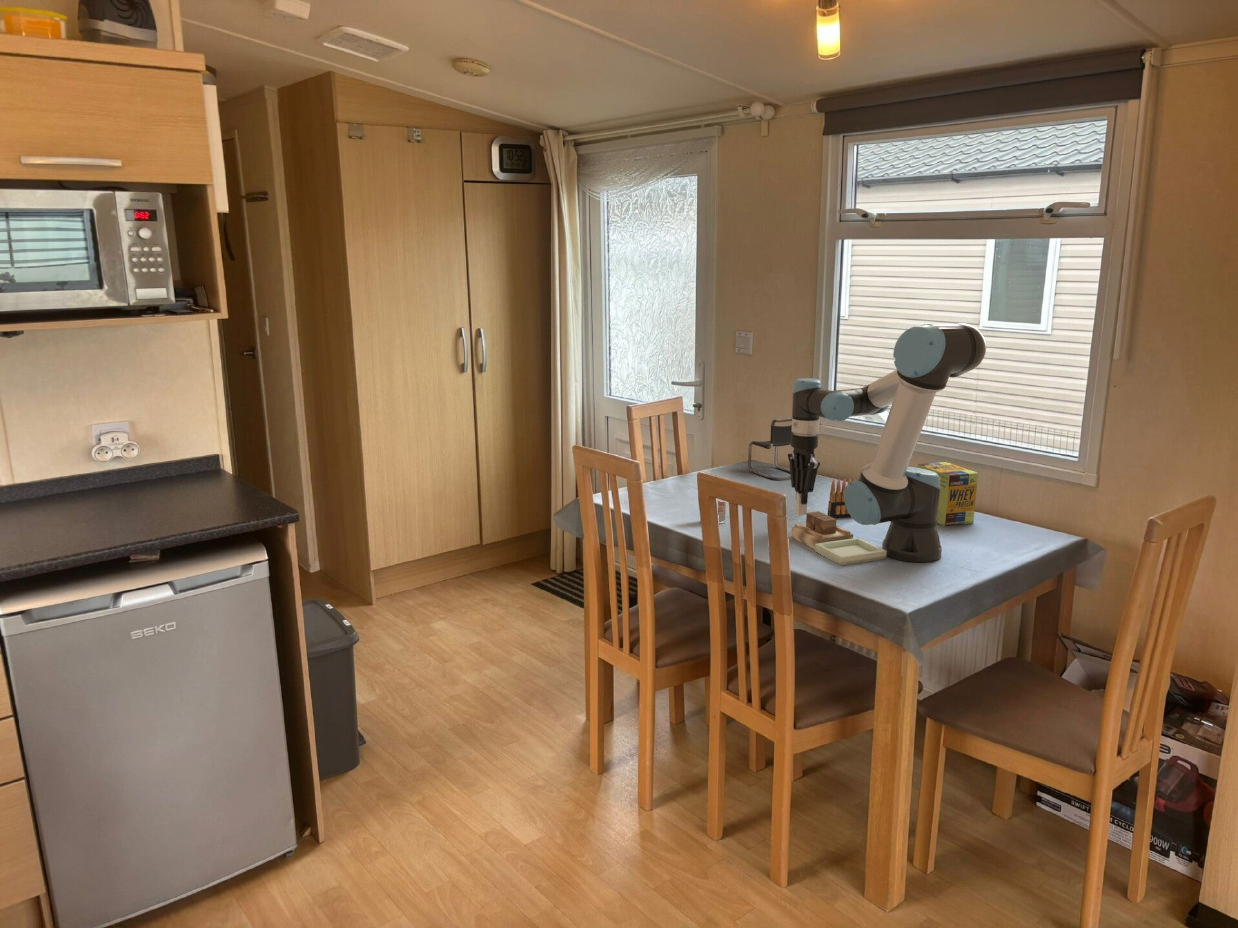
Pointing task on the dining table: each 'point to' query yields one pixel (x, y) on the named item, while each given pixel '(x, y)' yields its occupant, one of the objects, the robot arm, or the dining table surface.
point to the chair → (778, 438)
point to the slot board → (818, 535)
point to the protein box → (954, 493)
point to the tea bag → (721, 510)
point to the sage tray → (850, 551)
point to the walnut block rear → (812, 519)
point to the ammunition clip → (838, 501)
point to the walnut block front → (825, 525)
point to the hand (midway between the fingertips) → (800, 513)
